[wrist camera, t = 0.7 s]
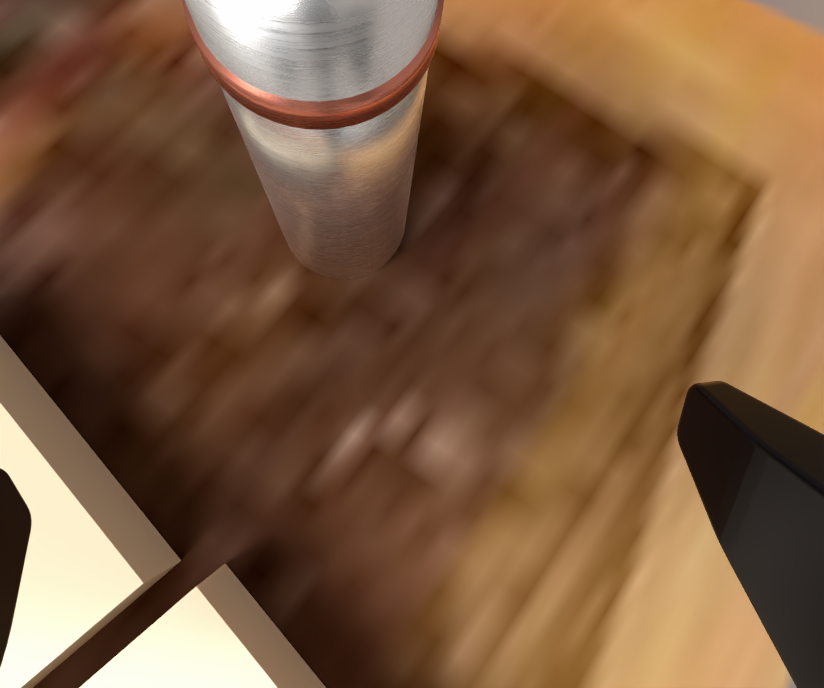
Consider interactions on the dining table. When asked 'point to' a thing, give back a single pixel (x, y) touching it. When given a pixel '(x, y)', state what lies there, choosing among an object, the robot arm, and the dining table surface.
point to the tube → (326, 114)
